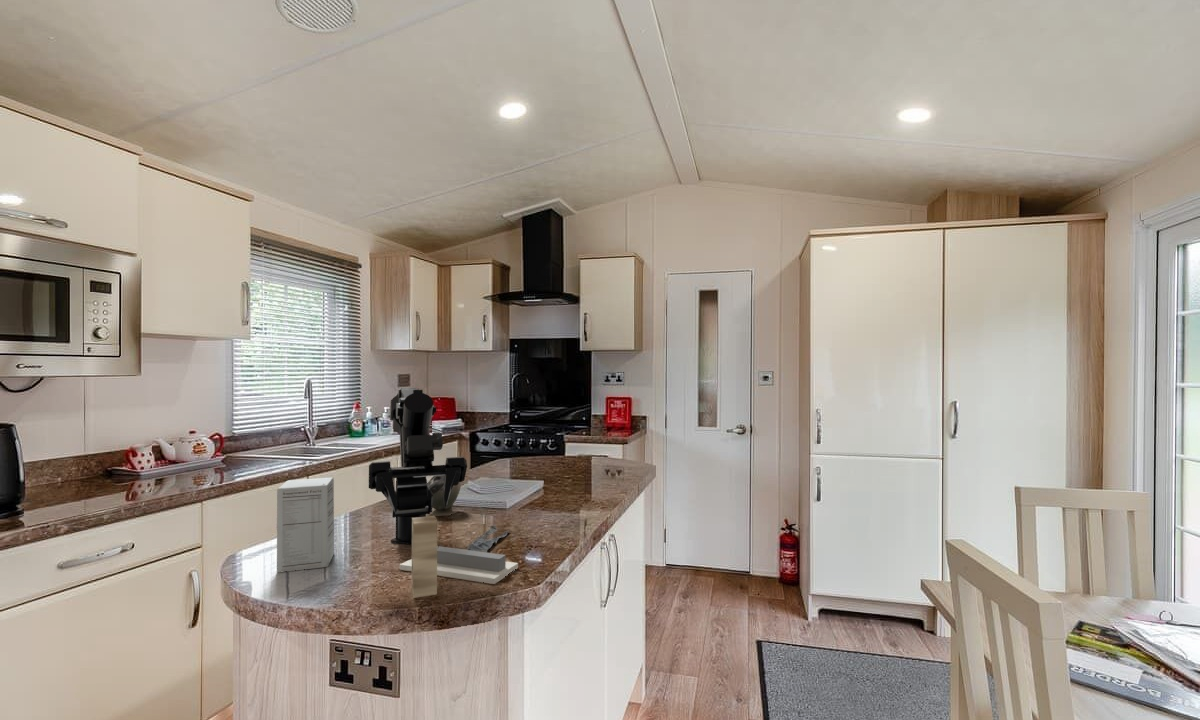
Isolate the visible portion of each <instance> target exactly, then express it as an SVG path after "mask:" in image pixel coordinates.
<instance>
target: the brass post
mask: <svg viewBox="0 0 1200 720" xmlns="http://www.w3.org/2000/svg"><path fill="white" fill-rule="evenodd" d="M437 546H438V519H437V516H434V515H428V516H426V517H416V518H412V545H411V559H412V571H411V593H412V598H413V599H417V598H422V597H429V596H435V595H438V575H437Z"/></svg>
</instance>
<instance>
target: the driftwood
mask: <svg viewBox="0 0 1200 720" xmlns="http://www.w3.org/2000/svg"><path fill="white" fill-rule="evenodd" d="M497 530H498V527H496V526H495V525H490V526H489V530H486V531H485V532H484V534H482V535H480V536H477V538H476V539H475V540H473V541H472V542H471V543H469V544H468V546H467V548H466V550H471V551H479V552H486V553H488V551H489V549H491V547H492V546H493V544H494V545H497V542H498V540H499V539H500V538H505V537H506V536H507V535H508V534H509V531H505V532H504V533H503V534H502V535H498V536H497V537H496V538H494V537H493V538H489V539H487V536H490V535H494V532H497Z"/></svg>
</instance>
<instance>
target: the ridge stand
mask: <svg viewBox="0 0 1200 720" xmlns="http://www.w3.org/2000/svg"><path fill="white" fill-rule="evenodd" d="M515 569H516V570H518V569H519V562H513V561H506V554H499V553H493V552H492V553H491V552H487V553H486V552H479V551H471V550H467V549H463V548H457V547H456V548H454V547H449V546H447V547H446V546H440V545H439V546H438V545H437V577H438V576H439V577H445V578H450V579H451V578H452V579H459V580H464V581H465V580H466V581H471V582H477V583H483V582H484V584H491V585H495V584H497V583H498V582H500V581H501V580H503V579H504V578H506V577H507V576H509V575H510V574H511V573H510V572H512V571H513V570H514V571H516V570H515ZM399 570H400V571H406V572H412V558H411V559H408V560H406V561H404V562H402V563H400V564H399ZM514 571H513V572H514ZM513 572H512V573H513ZM509 573H510V574H509ZM508 574H509V575H508ZM505 576H506V577H505Z"/></svg>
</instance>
